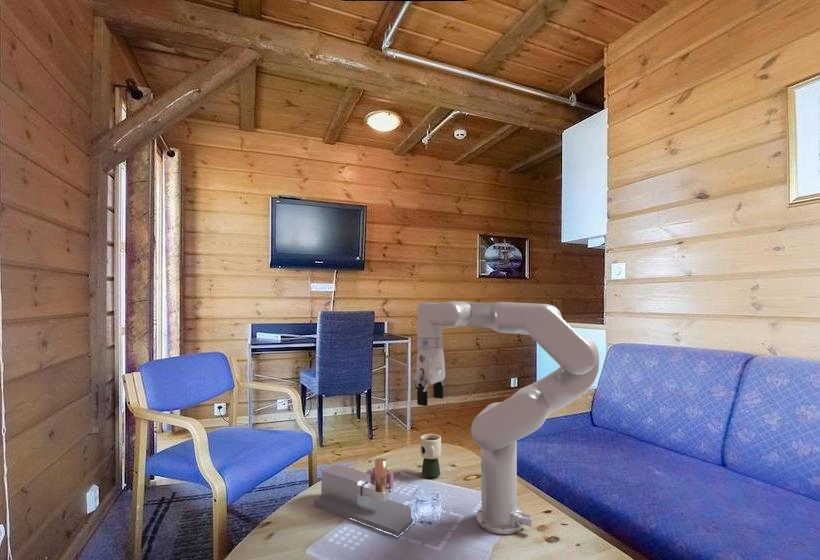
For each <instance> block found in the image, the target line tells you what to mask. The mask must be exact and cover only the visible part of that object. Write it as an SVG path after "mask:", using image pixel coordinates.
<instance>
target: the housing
mask: <svg viewBox="0 0 820 560" xmlns="http://www.w3.org/2000/svg"><path fill="white" fill-rule="evenodd" d="M364 483H369V484H371V474H368V473H366V472H364V471H361V470H357V469H355V468H351V467H346V466H343V465H341V464H337V463H334V464H332V465H331V466H328V467H326V468H324V469H323V470H321V483H320V484H321V486H320V487H321V489H320V490H321V491H320V492H321V496H323V497H326V498H328V499H331V500H334V501H337V502H340V503H342V504H345V505H348V506H351V507H353V508H356V509H358V508H359V507H361V506H362V505H364V504H365V503H367V502H368V501H370V500H371V498H370V497H367V496H364V495H361V485H362V484H364Z"/></svg>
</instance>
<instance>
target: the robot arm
mask: <svg viewBox="0 0 820 560" xmlns="http://www.w3.org/2000/svg"><path fill="white" fill-rule="evenodd" d="M416 327H417V328H416V331H417V332H416V333H417V335H416V336H417V337H416V339H417V342H416V343H417V344H416V345H417V347H416V348H417V354H416V374H415V375H414V376H413V382H414V387H415V391H416V403H417V406H424V407H426V406H429V404H428V402H429V399H428V394H429V393H428V391H427V389H428V386H429V385H432V387H433V388H432V389H433V398H434V399H444V384H445V381H444V380H445V379H446V366H445V365H446V364H445V363H446V362H445V354H444V348H443V328H450V329H451V328H452V329H453V328H457V327H475V328H476V327H478V328H486V329H491V330H493V331H494V332H497V333H500V334H501V333H502V334H514V335H526V336H530V337H531V338H532V339H533V340H534V341H535V342H536V343H537V344H538V346H540V348H541V349H543V351H544V352H546V353H547V354H548V355H549V356H550V358H551V359H553V360H554V361H555V362H556V363H557V364H558V365H559V367H558V368H557V369H555V370H553V371H552V372H550V373H549V374H547V375H546V376H544V377H542V378H541V379H538V380H536V381H534V382H533V383H531V384H529V385H526V386H523V387H522V388H520V389H518V390H517V391H516V392H515V393H514V394H513V395H511V396H510V397H508V398H506V399H505V400H503V401H498V402H497V401H496V402H492V403H490V404H488V405H487V406H486V407H484V408H483V409H482V410H481V412H480V413H478V414H477V415H476V416H475V417H474V418H473V421H472V422H471V427H470V432H471V436H472V439H473V441H474V442H475V444H476V445H478V446H479V447H480V448H481V449H480V450H481V451H480V473H481V474H480V477H481V479H480V481H481V482H480V483H481V484H480V487H481V489H480V490H481V495H480V496H481V508H480V509H478V510H477V511H476V513H475V520H476V523H477V525H478V526H479V527H481V528H482V529H484V530H486V531H487V532H490V533H493V534H497V535H498V534H499V535H511V534H514V533H517V532H520V531H521V530H522V529H523V527H524V525H525V526H526V527H531V528H532V527H533V525H534V519H533V518H532V515H531V513H528V512H527V513H526V512H523V511H522V510H521V504H519V503H518V484H517V483H518V482H517V481H518V476H517V473H518V471H517V469H518V468H517V467H518V466H517V465H518V463H517V462H518V461H517V459H518V458H517V456H518V454H517V452H518V451H517V450H518V449H517V448H518V446H517V445H518V441H519V440H521V439H523V438H525V437H527V436H529V435H530V434H533V433H535V432H536V431H537V430H538V429H540V428H541V427H542V426H543V424H544V423H545V421H546V420H547V418H548V417H549V416H550V415H551V414H553V413H555V412H557V411H558V410H560V409H562V408H564V407H566V406H567V405H569V404H570V403H572V402H575V401H576V400H578V399H579V398H580V397H582V396H584V395H585V394H586V393H587V392H588V390H589V389H590V388H591V387H592V386H593V384H594V382H595V381H596V378H597V376H598V373H599V367H600V355H599V349H598V346H597V345H596V343H595V342H594V340H592V339H591V338H590V337H588V336H583V335H580V334H579V333H578V332H576V331H575V330H574V329H573V328H572V327H571V326H570V325H569V324H568V323H567V322H566V320H564V319H563V316H562V313H561V311H560V309H559V308H557V306H555V305H552V304H548V303H535V302H534V303H531V302H529V303H527V302H513V301H512V302H509V301H495V302H478V301H476V302H475V301H463V300H462V301H459V300H458V301H457V300H456V301H455V300H454V301H444V302H435V301H434V302H432V301H431V302H420V303H418V304H417V306H416Z"/></svg>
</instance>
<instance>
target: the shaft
mask: <svg viewBox="0 0 820 560" xmlns="http://www.w3.org/2000/svg"><path fill="white" fill-rule="evenodd" d="M374 468H375V485H372V484H369V483H364V484H362V485H361V495H364V496H367V497H370V498H373V499H376V500H379V501H382V502H385V501H386V500H390V491H389V488H387V486H386V469H387V459H386V458H382V457H380V458H376V459H375V460H374Z"/></svg>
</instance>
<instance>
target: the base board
mask: <svg viewBox="0 0 820 560" xmlns="http://www.w3.org/2000/svg"><path fill="white" fill-rule="evenodd" d="M313 506H314V507H316V508H319V509H321V510H325V511H326V512H329V513H332V514H335V515H337V516H339V517H343V518H345V519H347V518H352V519H355V520H357V521H360V522H362V523H365V524H367V525H370V526H373V527H375V528H378V529H381V530H383V531H386V532H389V533H392V534H394V535H396V536H399V535H400V534H401V533H402V532H404V531H405V530H406V529H407V528H408V527H409V526H410V525H411V524H412V522H413V519H412V517H411V509H410V507H411V506H409V505H406V504H403V503H401V502H398V501H394V500H391V499H388V500H386V501H385V502H382V501H379V500H376V499H373V498H371V500H370V501H368V502H367V503H365V504H364V505H362V506H361V507H359V508H358V509H356V508H353V507H351V506H348V505H345V504H342V503H340V502H337V501H334V500H331V499H328V498H326V497H323V496H319V497H316V499H313Z"/></svg>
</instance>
